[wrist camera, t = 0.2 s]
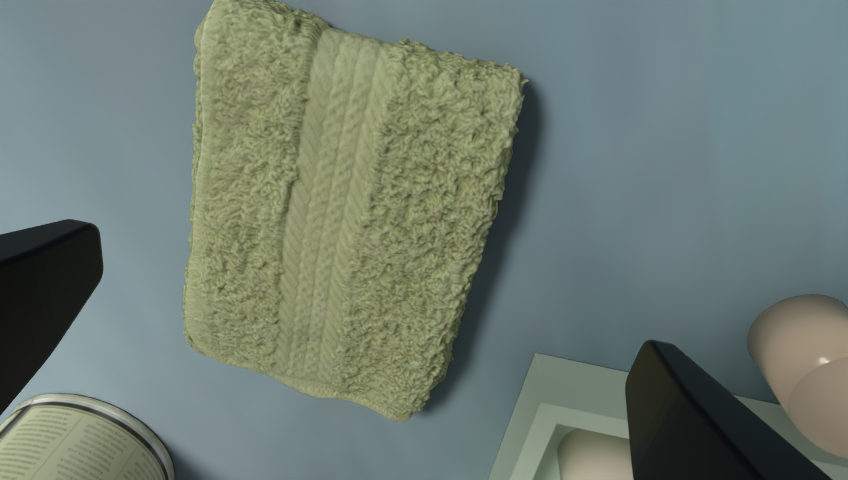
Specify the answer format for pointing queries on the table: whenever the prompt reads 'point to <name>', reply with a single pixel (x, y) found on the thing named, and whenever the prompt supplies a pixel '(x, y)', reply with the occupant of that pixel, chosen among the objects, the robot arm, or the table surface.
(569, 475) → the egg
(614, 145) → the table surface
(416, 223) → the washcloth
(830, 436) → the brown egg
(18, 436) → the coffee can
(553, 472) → the egg tray
